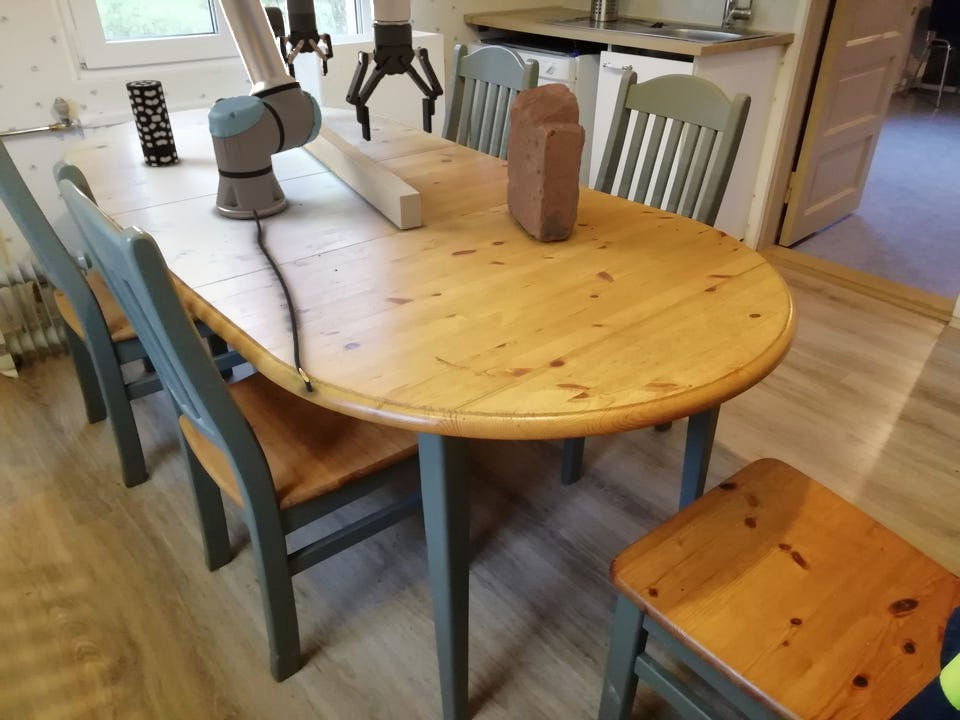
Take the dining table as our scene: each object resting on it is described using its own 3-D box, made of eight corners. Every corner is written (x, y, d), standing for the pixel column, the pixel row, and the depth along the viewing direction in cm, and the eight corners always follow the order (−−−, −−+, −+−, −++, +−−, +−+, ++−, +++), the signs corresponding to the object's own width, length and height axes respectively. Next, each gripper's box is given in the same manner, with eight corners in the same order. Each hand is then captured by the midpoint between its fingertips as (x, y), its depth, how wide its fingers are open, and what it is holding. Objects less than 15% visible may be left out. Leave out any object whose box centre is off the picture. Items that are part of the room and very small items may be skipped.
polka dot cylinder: (184, 157, 190) (167, 80, 179) (169, 166, 183) (151, 87, 172) (155, 156, 190) (136, 79, 179) (139, 165, 183) (119, 86, 172)
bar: (421, 226, 150) (420, 193, 146) (401, 229, 148) (399, 196, 144) (318, 144, 203) (315, 118, 199) (302, 146, 201) (299, 120, 197)
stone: (590, 238, 144) (602, 97, 129) (540, 245, 141) (546, 100, 126) (549, 207, 161) (555, 80, 147) (504, 213, 158) (506, 82, 144)
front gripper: (442, 16, 139) (443, 124, 150) (322, 23, 129) (333, 138, 140) (459, 21, 134) (459, 132, 145) (335, 28, 123) (346, 147, 135)
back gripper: (322, 7, 184) (329, 72, 193) (269, 10, 178) (278, 76, 187) (332, 10, 178) (338, 77, 187) (277, 13, 172) (286, 81, 181)
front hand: (397, 135), depth 143 cm, fingers open, 13 cm apart
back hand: (308, 76), depth 187 cm, fingers open, 8 cm apart
